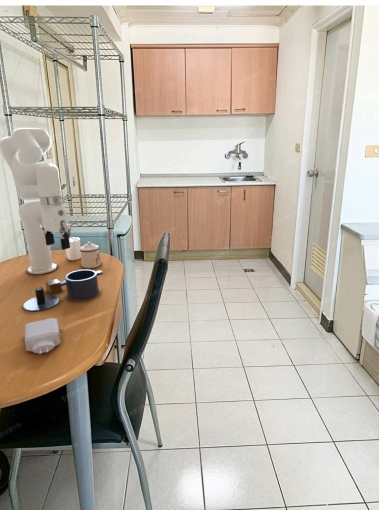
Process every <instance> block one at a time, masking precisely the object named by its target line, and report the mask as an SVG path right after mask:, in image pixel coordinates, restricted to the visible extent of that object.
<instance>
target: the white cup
mask: <svg viewBox="0 0 379 510" xmlns="http://www.w3.org/2000/svg"><path fill="white" fill-rule="evenodd" d="M69 242H70V248H68V249H64V251H65V254H66V259H67V260H68V261H77V260H81V253H80V247H82V246H81V238H80V237H76V236H71V237H69Z"/></svg>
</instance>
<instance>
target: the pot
mask: <svg viewBox="0 0 379 510" xmlns="http://www.w3.org/2000/svg"><path fill="white" fill-rule="evenodd" d="M103 274H104V273H103V271H102V270H99V269H98V270H93V269H77V270H75V271H71V272H69V273H67V274H66V275H65V276H64V277H65V278H64V280H61V281H60V282H59V285H60V286H61V287H64V286H66V292H67V298H68V299H70V300H71V301H74V302H75V301H77V302H79V301H80V302H81V301H88V300H91V299H94V298H96V297H98V295H99V293H100V292H99V283H98V276H102V275H103Z"/></svg>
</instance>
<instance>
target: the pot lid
mask: <svg viewBox="0 0 379 510" xmlns="http://www.w3.org/2000/svg"><path fill="white" fill-rule="evenodd" d="M34 292H35V297H32V298H30V299H28V300H26V301H25V302H24V303H23V304H22V306H23V309H24V311H27V312H32V313H33V312H36V313H37V312H42V311H47V310H50V309H52V308H55V307H56V306H57V305H58V304H59V303H60V298H59V297H58V296H56V295H52V294H50V295H48V294H46V295H45V290H44V287H42V286H39V287H36V288H35V289H34Z"/></svg>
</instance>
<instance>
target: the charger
mask: <svg viewBox="0 0 379 510" xmlns="http://www.w3.org/2000/svg"><path fill="white" fill-rule="evenodd" d="M61 342H62V341H61V335H60V329H59V322H58V319H57V318H55V317H53V318H47V319H42V320H36V321H31V322H27V323H26V324H25V325H24V344H25V349H26V351H27V352H32V353H34V354H39V355H41V354H44V353H49V352H50V351H52V350H53V349H54V348H55V347H57V346H59V345H60V344H61Z"/></svg>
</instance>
